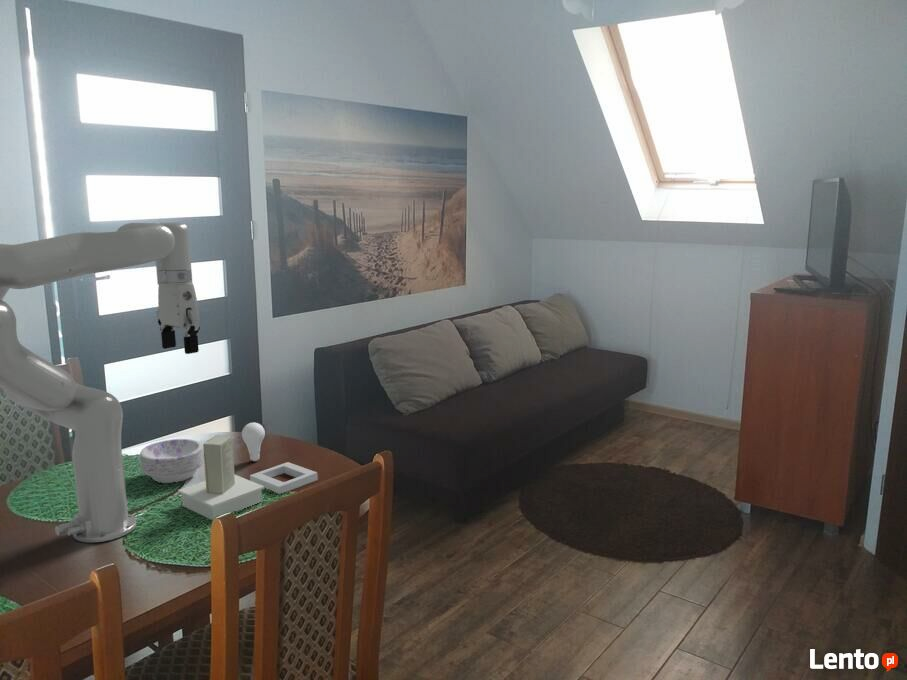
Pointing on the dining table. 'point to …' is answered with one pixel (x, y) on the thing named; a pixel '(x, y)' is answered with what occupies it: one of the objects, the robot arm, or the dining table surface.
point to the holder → (280, 487)
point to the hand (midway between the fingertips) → (180, 350)
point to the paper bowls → (172, 460)
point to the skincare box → (219, 464)
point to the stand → (221, 498)
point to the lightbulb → (253, 439)
